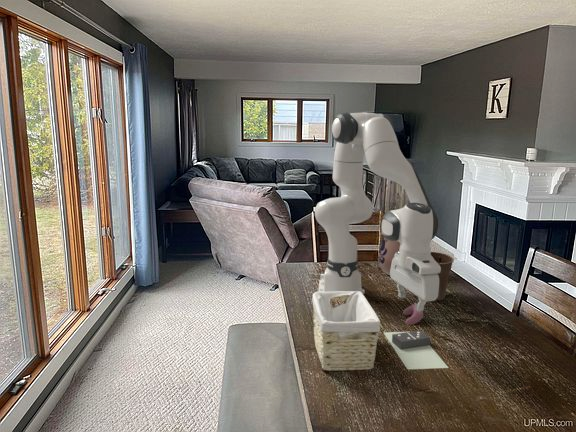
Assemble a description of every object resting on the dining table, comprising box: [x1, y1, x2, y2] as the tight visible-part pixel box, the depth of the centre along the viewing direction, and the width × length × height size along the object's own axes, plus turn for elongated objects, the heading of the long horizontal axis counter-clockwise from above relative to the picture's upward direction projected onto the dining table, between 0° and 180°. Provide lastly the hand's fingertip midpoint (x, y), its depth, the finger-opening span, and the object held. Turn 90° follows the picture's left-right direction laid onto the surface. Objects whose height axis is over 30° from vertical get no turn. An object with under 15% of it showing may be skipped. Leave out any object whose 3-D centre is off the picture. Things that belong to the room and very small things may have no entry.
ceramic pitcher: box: [377, 234, 400, 276], centre depth 196 cm, size 18×21×25 cm
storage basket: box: [311, 291, 381, 372], centre depth 127 cm, size 24×16×15 cm
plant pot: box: [412, 251, 455, 302], centre depth 170 cm, size 16×16×16 cm
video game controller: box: [402, 302, 424, 326], centre depth 149 cm, size 10×5×7 cm, turn 170°
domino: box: [392, 330, 431, 350], centre depth 132 cm, size 5×3×10 cm
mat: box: [383, 331, 449, 370], centre depth 129 cm, size 22×12×1 cm, turn 5°
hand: (410, 303), depth 130 cm, fingers open, 8 cm apart
